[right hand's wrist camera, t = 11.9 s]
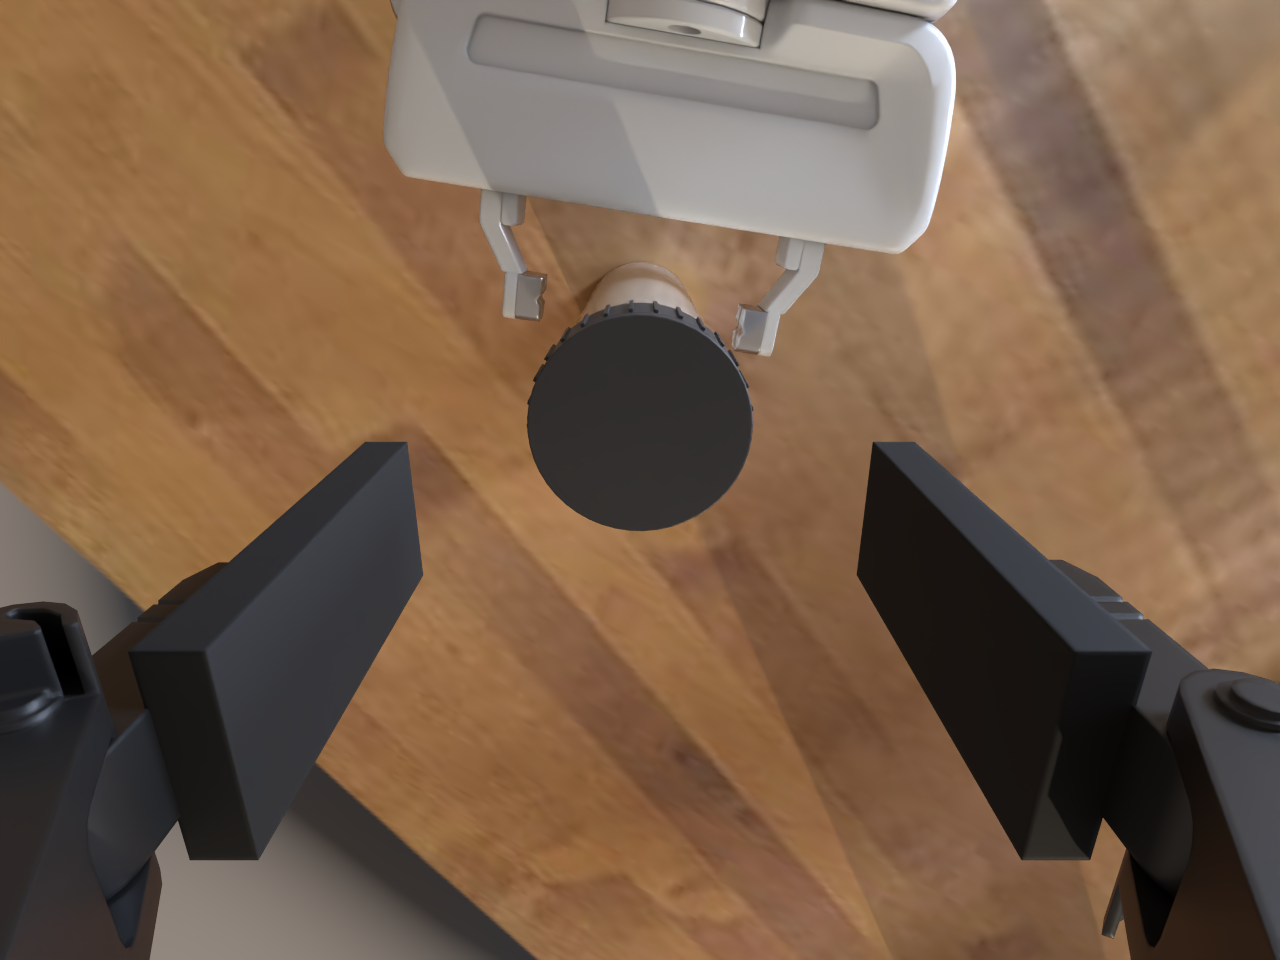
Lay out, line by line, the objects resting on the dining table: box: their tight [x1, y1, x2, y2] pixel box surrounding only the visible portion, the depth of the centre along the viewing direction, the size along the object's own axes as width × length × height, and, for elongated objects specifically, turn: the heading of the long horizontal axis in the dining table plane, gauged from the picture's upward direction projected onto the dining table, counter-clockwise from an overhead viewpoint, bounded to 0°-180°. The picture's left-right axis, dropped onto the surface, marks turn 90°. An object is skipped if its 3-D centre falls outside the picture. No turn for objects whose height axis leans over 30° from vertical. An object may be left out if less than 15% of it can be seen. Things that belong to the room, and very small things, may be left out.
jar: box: [576, 262, 704, 324], centre depth 27 cm, size 5×5×18 cm
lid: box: [527, 300, 753, 531], centre depth 19 cm, size 6×6×2 cm
